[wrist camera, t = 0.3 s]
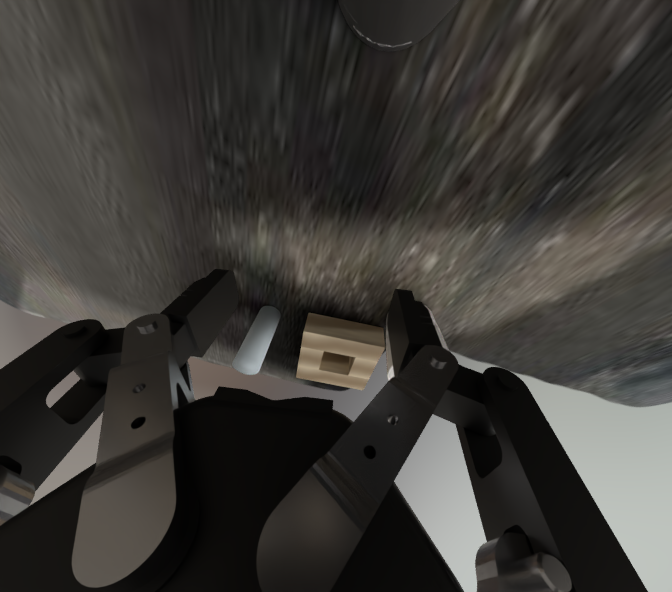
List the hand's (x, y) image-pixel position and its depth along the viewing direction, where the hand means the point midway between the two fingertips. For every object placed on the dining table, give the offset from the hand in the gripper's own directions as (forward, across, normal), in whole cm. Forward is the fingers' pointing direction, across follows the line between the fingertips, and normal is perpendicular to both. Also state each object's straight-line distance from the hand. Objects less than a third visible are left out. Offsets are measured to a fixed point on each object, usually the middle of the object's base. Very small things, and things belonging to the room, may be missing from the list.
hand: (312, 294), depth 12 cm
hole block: (+19, -2, +23) cm, 30 cm away
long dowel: (+19, +10, +18) cm, 28 cm away
